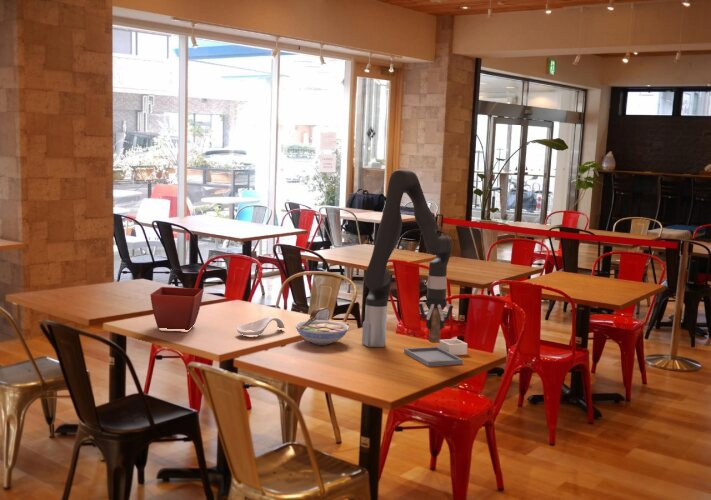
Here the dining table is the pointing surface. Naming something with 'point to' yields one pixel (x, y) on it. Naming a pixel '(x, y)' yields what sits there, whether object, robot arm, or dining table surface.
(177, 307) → the plant pot
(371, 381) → the dining table surface
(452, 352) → the square frame
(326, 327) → the ramen bowl
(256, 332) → the spoon rest
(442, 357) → the tray
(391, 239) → the robot arm
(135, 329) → the dining table surface
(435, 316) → the peg
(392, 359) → the dining table surface
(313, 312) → the soup spoon
